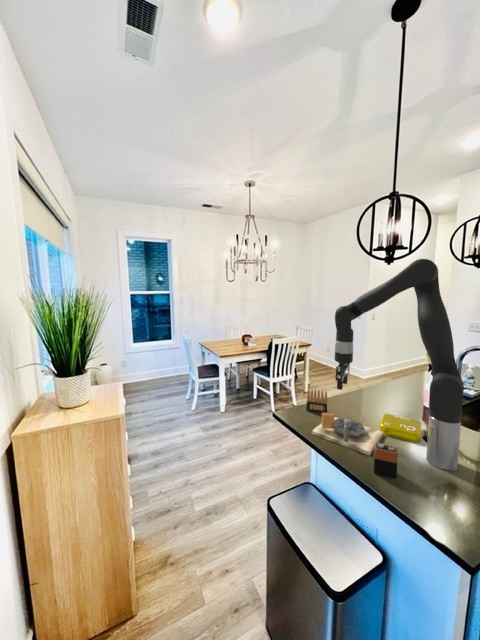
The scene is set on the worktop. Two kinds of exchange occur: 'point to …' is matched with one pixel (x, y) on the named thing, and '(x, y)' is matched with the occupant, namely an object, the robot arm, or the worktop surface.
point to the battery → (385, 460)
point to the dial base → (351, 437)
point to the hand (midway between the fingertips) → (342, 386)
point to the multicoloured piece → (341, 425)
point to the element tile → (401, 428)
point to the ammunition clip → (316, 402)
